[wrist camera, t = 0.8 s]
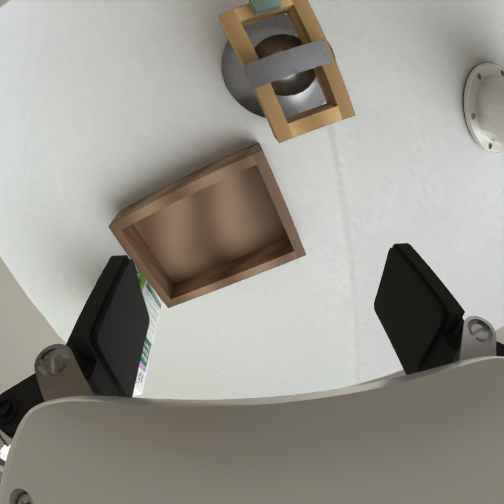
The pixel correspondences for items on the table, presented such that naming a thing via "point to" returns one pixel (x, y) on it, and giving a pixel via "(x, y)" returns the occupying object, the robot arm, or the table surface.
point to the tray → (210, 228)
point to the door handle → (277, 67)
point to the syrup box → (154, 312)
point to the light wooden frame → (308, 29)
